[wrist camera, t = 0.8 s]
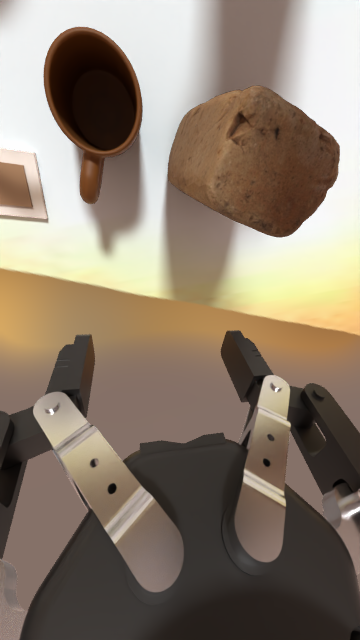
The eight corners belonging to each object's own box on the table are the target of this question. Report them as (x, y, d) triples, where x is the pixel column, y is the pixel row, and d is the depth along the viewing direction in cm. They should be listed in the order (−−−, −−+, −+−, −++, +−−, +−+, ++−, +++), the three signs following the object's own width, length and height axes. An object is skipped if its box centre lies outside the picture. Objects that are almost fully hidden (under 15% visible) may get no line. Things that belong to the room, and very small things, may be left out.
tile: (-37, 142, 24) (-42, 142, 24) (35, 153, 26) (32, 153, 25) (-14, 212, 29) (-18, 213, 28) (47, 217, 30) (45, 219, 29)
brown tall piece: (157, 176, 30) (191, 206, 14) (181, 105, 26) (262, 40, 10) (224, 210, 34) (308, 264, 18) (253, 154, 30) (389, 160, 14)
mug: (125, 202, 31) (124, 219, 23) (64, 183, 28) (41, 195, 21) (145, 85, 24) (154, 57, 17) (69, 46, 22) (39, -6, 15)
